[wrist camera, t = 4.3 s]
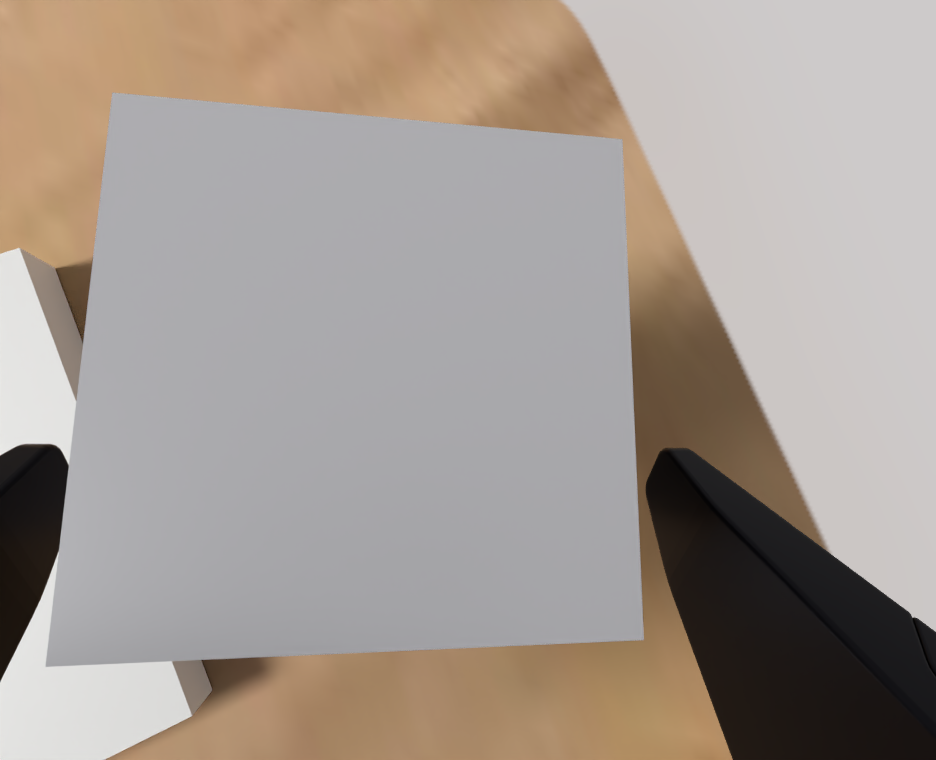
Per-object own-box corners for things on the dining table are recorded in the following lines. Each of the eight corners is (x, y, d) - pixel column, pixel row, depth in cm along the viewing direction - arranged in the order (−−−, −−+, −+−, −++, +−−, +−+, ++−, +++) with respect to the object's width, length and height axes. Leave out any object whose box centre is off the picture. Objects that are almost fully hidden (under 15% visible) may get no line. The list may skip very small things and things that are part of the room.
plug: (460, 506, 17) (645, 639, 5) (311, 508, 17) (44, 666, 4) (461, 364, 18) (623, 138, 5) (318, 360, 17) (112, 92, 5)
